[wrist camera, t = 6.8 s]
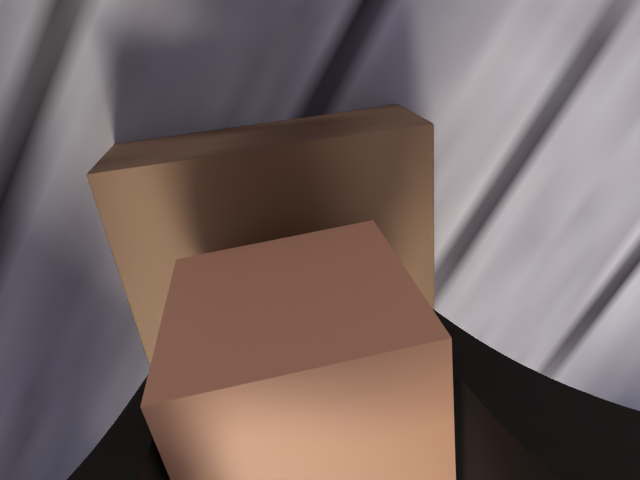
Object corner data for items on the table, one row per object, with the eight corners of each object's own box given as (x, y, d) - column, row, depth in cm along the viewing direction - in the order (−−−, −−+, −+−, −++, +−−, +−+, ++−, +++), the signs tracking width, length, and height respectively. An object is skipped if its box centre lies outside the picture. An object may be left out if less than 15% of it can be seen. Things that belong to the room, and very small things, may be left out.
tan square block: (182, 365, 19) (172, 434, 16) (117, 141, 15) (86, 174, 12) (403, 324, 20) (434, 382, 17) (394, 102, 16) (433, 123, 13)
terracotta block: (223, 408, 14) (217, 592, 10) (175, 259, 12) (140, 406, 7) (389, 371, 15) (457, 531, 10) (373, 219, 12) (451, 337, 8)
